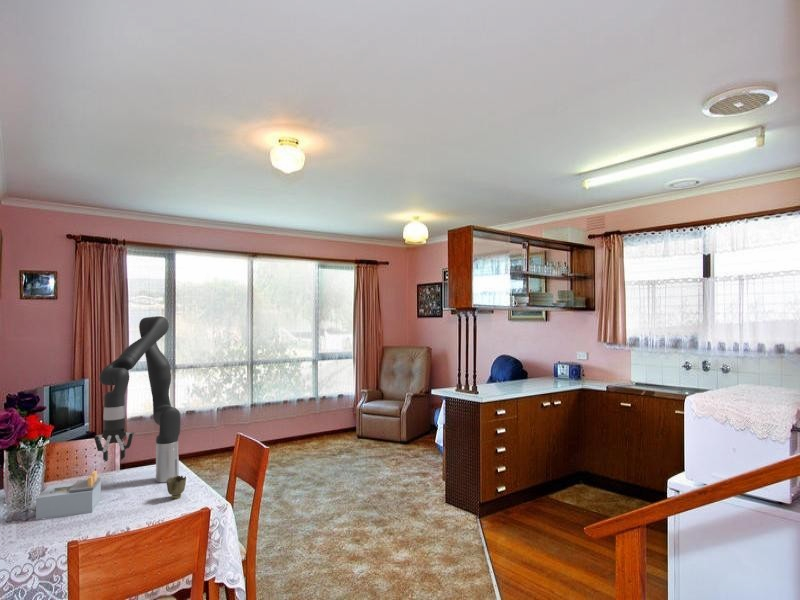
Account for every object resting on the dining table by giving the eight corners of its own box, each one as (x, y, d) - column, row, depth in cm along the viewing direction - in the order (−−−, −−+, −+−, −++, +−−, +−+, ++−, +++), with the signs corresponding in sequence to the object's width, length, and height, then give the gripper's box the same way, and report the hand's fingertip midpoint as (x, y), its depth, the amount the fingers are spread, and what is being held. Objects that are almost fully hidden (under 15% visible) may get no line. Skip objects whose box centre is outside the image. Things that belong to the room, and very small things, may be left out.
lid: (100, 479, 197) (100, 469, 197) (93, 489, 186) (93, 478, 186) (77, 482, 194) (77, 471, 194) (68, 492, 183) (68, 481, 183)
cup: (162, 499, 197) (162, 479, 197) (178, 493, 203) (178, 474, 204) (174, 502, 193) (174, 482, 194) (190, 496, 200) (190, 476, 200)
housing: (100, 499, 198) (101, 479, 198) (92, 512, 185) (92, 491, 185) (48, 506, 191) (48, 485, 192) (35, 519, 178) (36, 498, 179)
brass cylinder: (68, 504, 190) (68, 488, 190) (65, 508, 186) (66, 491, 186) (55, 506, 188) (56, 489, 188) (53, 510, 184) (54, 493, 185)
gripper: (136, 414, 200) (135, 455, 200) (96, 417, 195) (95, 459, 195) (132, 417, 193) (132, 460, 193) (91, 420, 188) (91, 464, 188)
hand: (114, 459), depth 194 cm, fingers open, 5 cm apart
